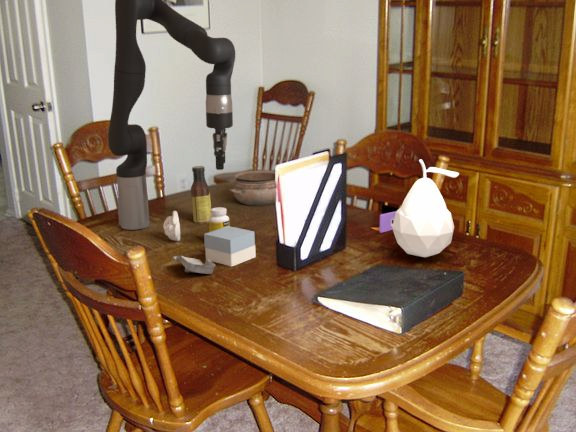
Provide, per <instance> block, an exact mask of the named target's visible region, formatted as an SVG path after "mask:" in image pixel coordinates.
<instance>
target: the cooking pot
mask: <svg viewBox="0 0 576 432" xmlns="http://www.w3.org/2000/svg"><path fill="white" fill-rule="evenodd" d="M234 177H235V181H234V185H233V188H229V190H228V191H229V192H232V193H233V195H234V197H235V199H236V200H237V202H239V203H241V204H242V205H246V206H253V207H254V206H255V207H263V206H270V205H274V204H276V203H275V170H265V169H264V170H249V171H241V172H238V173H236V174H235V175H234Z"/></svg>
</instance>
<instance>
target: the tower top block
mask: <svg viewBox="0 0 576 432" xmlns="http://www.w3.org/2000/svg"><path fill="white" fill-rule="evenodd" d="M203 237H204V238H203V239H204V243H203V244H204V249H205V248H208V249H212V250H216V251H220V252H224V253H228V254H232V253H235V252H238V251H240V250H243V249H246V248H248V247H251V246H254V245H255V246H256V239H255V230H253V231H252V230H249V229H244V228H239V227H235V226H234V227H233V226H227V227H224V228H221V229H218V230H215V231H212V232H209V231H208V232H205V233H204V234H203Z"/></svg>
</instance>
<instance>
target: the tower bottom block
mask: <svg viewBox="0 0 576 432" xmlns="http://www.w3.org/2000/svg"><path fill="white" fill-rule="evenodd" d="M204 249H205V251H204V252H205V261H206V260H207V259H209V260H211V261H212V262H213V263H216V264H220V265H225V266H228V267H230V268H231V267H234V266H237V265H240V264H242V263H244V262H246V261H249V260H252V259H255V258H256V257H257V256H256V255H257V254H256V253H257V252H256V244H255V245H254V246H251V247H248V248H246V249H243V250H240V251H238V252H235V253H232V254H228V253H224V252H220V251H216V250H212V249H208V248H205V247H204Z"/></svg>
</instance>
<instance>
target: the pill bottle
mask: <svg viewBox="0 0 576 432" xmlns="http://www.w3.org/2000/svg"><path fill="white" fill-rule="evenodd" d="M227 213H228V210H227V208H226V207H223V206H222V207H220V206H218V207H213V208H212V207H211V214H212V216H210V218H209V223H208V230H209V231H208V233H209V232H212V231H215V230H218V229H221V228H224V227H227V226H230V225H231V224H230V217H229V216H228V215H227ZM230 227H231V226H230Z"/></svg>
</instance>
